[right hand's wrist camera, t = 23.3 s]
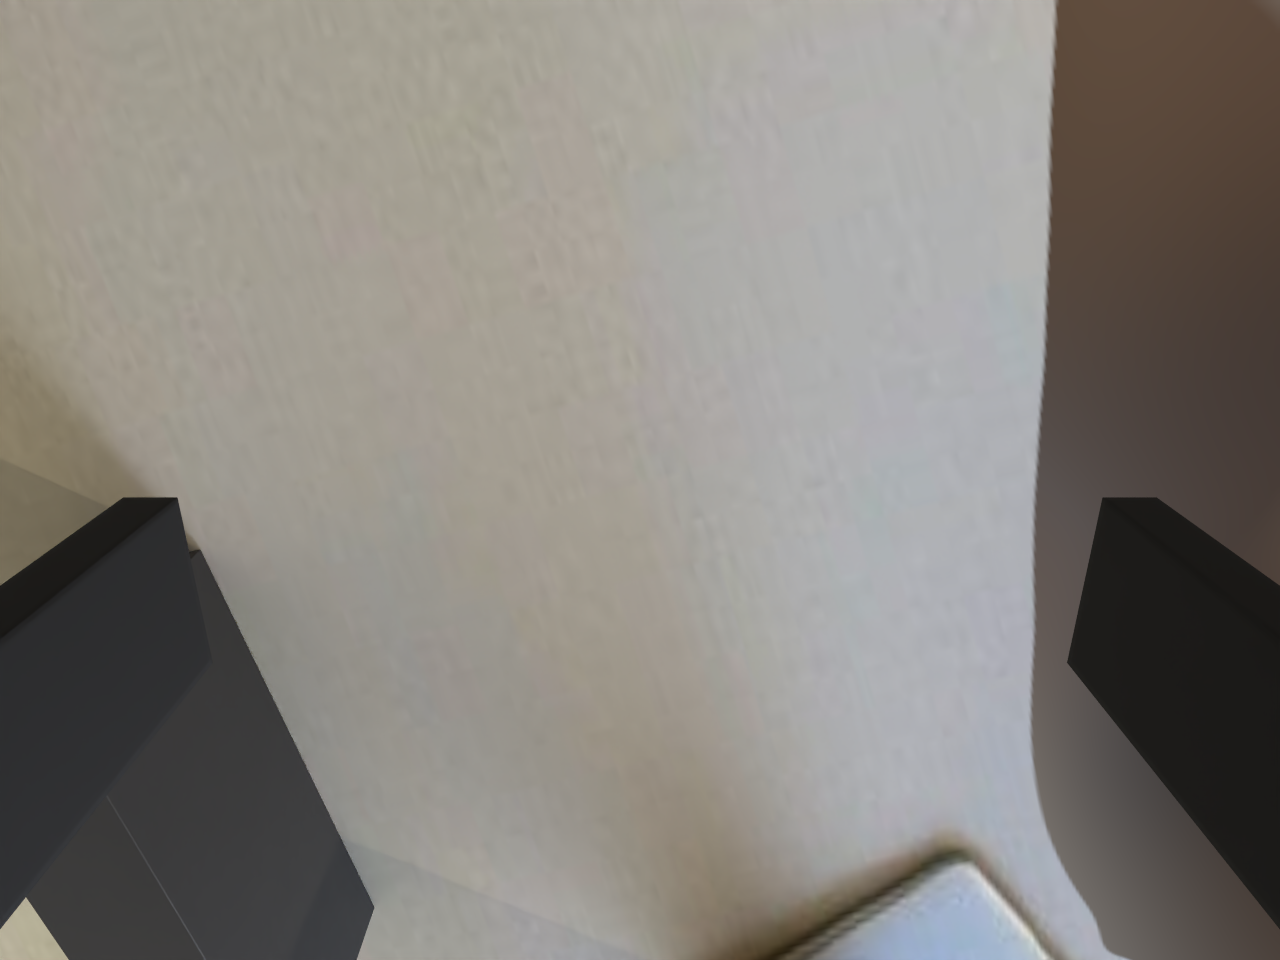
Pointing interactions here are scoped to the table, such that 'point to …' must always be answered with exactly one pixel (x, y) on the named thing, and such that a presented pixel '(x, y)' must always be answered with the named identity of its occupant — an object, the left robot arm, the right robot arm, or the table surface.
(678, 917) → the table surface
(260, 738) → the box
